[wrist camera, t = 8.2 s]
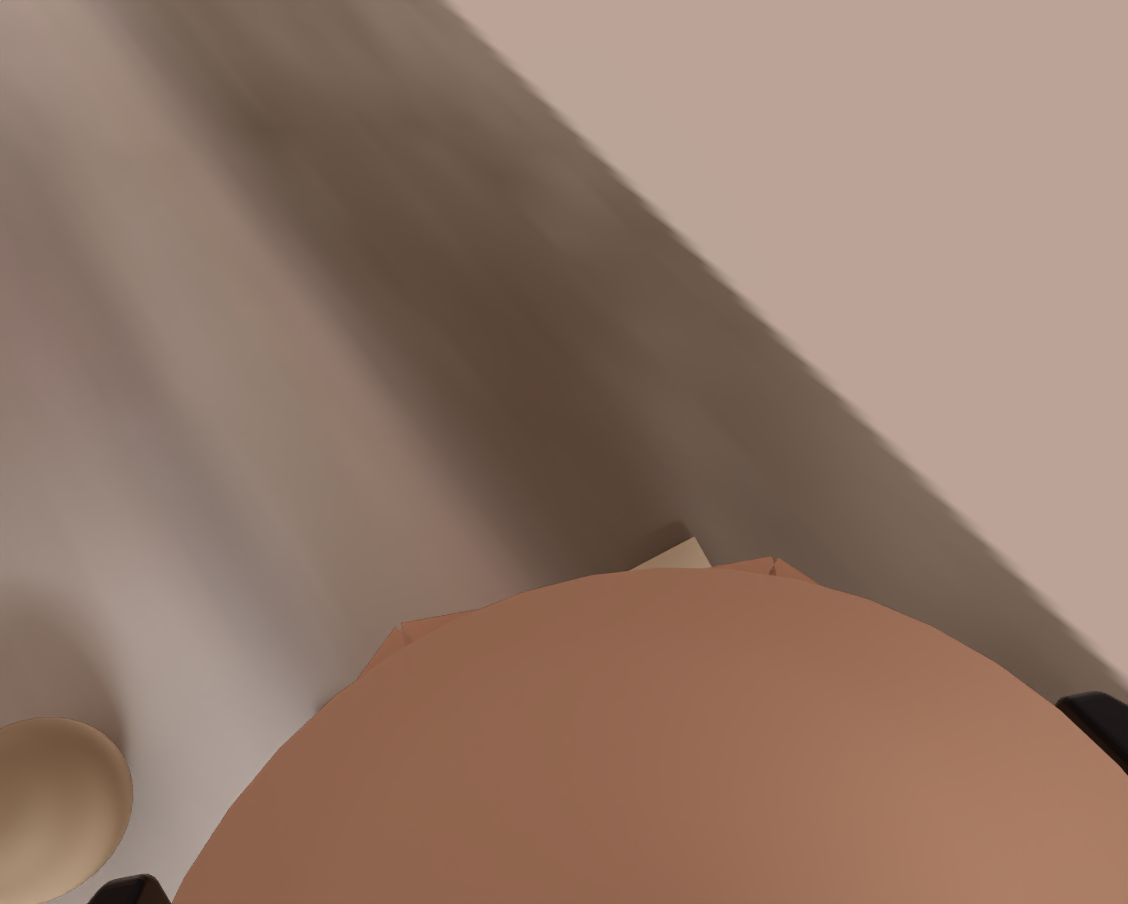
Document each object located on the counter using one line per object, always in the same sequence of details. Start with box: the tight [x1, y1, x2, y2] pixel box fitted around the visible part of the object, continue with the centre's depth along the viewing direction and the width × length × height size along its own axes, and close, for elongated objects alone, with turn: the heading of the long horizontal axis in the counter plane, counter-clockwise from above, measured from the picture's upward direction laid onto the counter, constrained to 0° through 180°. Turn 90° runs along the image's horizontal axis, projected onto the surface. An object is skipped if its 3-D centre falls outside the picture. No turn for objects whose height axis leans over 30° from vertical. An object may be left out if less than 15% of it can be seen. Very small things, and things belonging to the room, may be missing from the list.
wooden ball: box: [0, 717, 133, 904], centre depth 15 cm, size 3×3×3 cm
